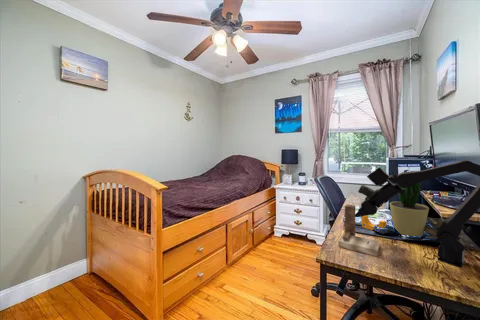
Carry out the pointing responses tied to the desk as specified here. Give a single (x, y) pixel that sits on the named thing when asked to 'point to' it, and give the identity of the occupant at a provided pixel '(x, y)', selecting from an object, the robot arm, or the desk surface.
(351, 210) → the tan upright block
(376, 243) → the pine board
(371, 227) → the pipe clamp
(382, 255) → the desk surface
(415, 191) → the potted cactus
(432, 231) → the eagle figurine
